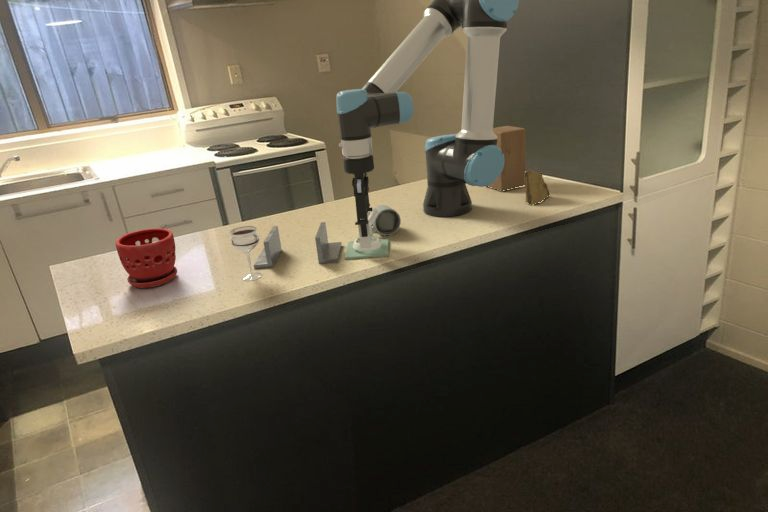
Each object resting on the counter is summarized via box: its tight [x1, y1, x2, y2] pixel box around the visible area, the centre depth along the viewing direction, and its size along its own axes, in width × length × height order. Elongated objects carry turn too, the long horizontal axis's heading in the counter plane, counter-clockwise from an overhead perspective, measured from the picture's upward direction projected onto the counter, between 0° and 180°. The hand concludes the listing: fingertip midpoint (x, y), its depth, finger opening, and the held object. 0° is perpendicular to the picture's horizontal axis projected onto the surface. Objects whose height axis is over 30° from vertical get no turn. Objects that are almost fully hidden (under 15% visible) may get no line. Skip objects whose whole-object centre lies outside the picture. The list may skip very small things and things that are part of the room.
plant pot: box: [115, 228, 178, 289], centre depth 132 cm, size 13×13×12 cm
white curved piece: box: [353, 208, 382, 251], centre depth 139 cm, size 8×12×7 cm
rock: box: [524, 170, 551, 206], centre depth 167 cm, size 11×9×10 cm
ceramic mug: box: [370, 204, 402, 237], centre depth 152 cm, size 11×8×8 cm
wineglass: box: [228, 225, 263, 282], centre depth 129 cm, size 7×7×12 cm
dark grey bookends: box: [253, 221, 343, 270], centre depth 140 cm, size 21×12×7 cm, turn 89°
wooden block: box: [488, 125, 527, 191], centre depth 183 cm, size 10×10×20 cm
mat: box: [344, 238, 389, 260], centre depth 141 cm, size 11×11×1 cm
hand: (366, 241), depth 140 cm, fingers open, 8 cm apart
